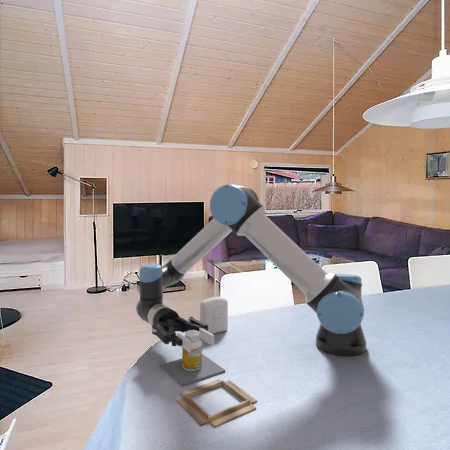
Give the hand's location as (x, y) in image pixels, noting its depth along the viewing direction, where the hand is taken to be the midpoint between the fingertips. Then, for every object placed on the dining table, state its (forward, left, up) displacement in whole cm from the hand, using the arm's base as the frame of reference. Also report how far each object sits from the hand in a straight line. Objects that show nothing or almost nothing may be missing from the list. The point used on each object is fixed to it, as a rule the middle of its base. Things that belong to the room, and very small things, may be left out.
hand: (201, 343), depth 91 cm
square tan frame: (-9, +8, -9) cm, 15 cm away
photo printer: (+11, -30, -9) cm, 33 cm away
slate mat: (+4, -3, -9) cm, 10 cm away
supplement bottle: (+4, -3, -9) cm, 10 cm away
